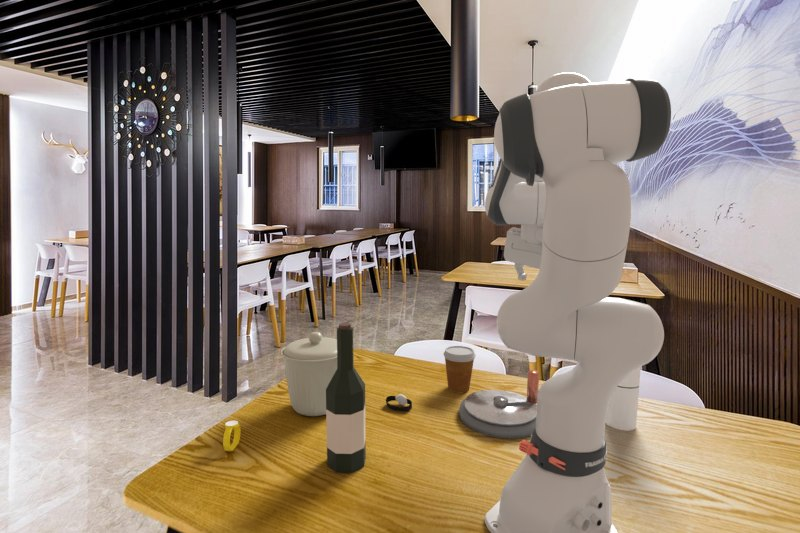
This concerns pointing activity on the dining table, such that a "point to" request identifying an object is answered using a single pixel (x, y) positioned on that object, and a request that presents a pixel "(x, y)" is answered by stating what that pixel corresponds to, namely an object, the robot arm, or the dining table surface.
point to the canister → (310, 372)
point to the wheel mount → (495, 426)
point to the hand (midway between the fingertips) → (536, 284)
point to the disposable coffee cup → (459, 367)
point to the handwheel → (505, 405)
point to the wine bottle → (345, 409)
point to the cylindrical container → (624, 403)
